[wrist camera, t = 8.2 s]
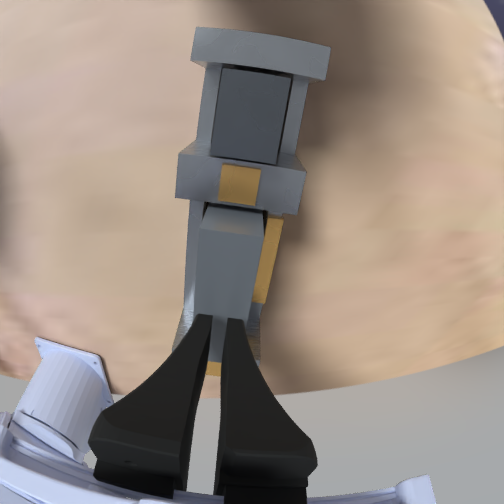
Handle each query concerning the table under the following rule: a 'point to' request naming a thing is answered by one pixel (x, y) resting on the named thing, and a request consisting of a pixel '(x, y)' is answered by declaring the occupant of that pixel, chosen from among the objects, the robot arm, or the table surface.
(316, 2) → the table surface
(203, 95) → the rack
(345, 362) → the table surface
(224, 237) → the panel
